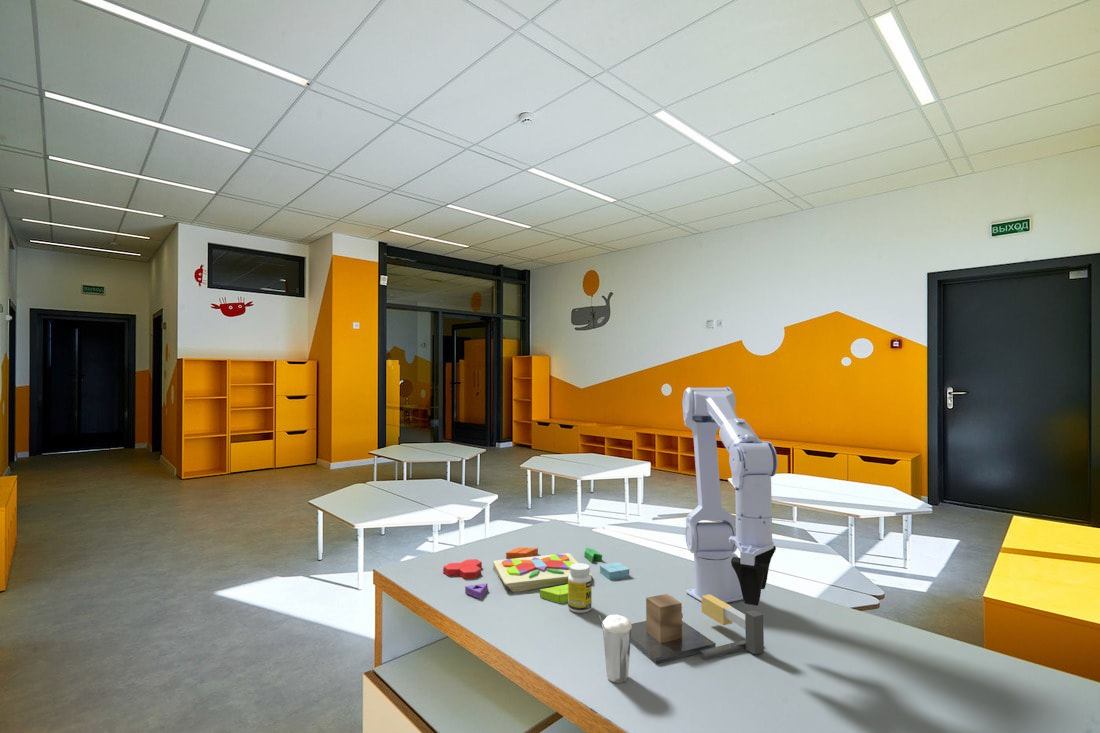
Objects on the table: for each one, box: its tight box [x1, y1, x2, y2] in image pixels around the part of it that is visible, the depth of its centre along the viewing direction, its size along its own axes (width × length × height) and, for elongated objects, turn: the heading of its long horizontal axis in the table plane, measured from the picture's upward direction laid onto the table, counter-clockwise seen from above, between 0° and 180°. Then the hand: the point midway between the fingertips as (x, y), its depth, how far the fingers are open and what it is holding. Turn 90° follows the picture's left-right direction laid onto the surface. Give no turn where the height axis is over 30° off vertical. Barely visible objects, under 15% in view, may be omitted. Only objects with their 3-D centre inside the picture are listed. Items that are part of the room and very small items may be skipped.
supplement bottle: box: [567, 562, 593, 614], centre depth 108 cm, size 5×5×8 cm
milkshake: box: [598, 614, 633, 684], centre depth 83 cm, size 4×5×10 cm
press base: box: [630, 620, 747, 665], centre depth 95 cm, size 20×14×1 cm
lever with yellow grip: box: [701, 594, 765, 655], centre depth 95 cm, size 2×14×6 cm, turn 22°
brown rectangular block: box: [645, 593, 684, 643], centre depth 95 cm, size 6×4×6 cm
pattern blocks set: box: [442, 546, 630, 604], centre depth 127 cm, size 38×34×3 cm
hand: (755, 595), depth 90 cm, fingers open, 7 cm apart
